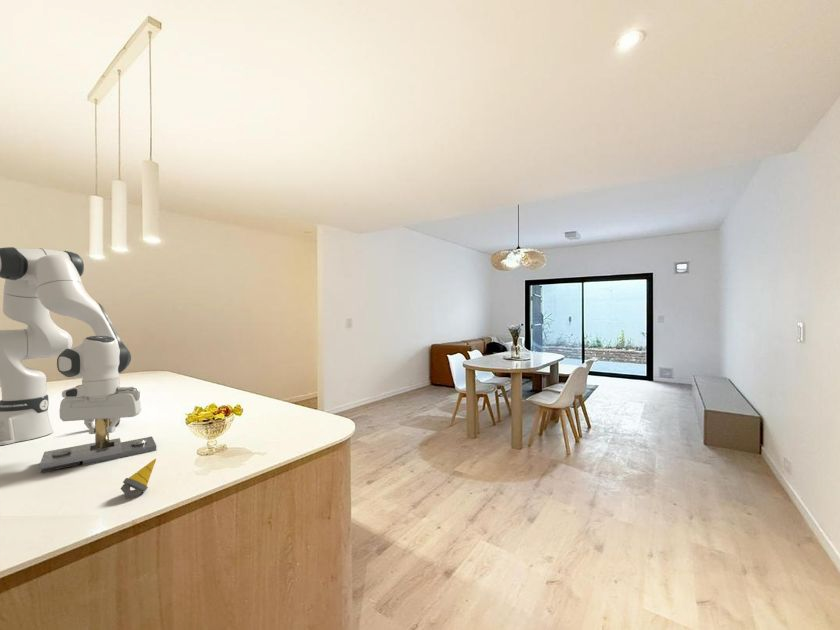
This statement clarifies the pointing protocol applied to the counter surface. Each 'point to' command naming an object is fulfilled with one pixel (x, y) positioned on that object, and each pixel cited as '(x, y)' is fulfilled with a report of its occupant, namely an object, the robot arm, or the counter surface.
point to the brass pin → (101, 433)
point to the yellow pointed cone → (138, 481)
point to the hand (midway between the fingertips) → (102, 432)
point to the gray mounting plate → (94, 453)
